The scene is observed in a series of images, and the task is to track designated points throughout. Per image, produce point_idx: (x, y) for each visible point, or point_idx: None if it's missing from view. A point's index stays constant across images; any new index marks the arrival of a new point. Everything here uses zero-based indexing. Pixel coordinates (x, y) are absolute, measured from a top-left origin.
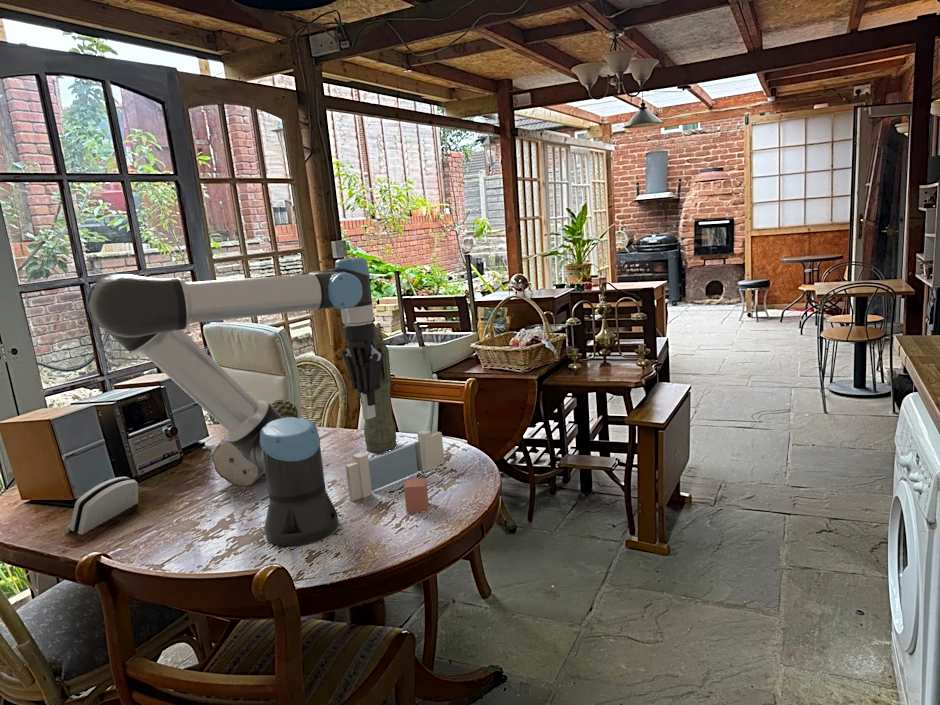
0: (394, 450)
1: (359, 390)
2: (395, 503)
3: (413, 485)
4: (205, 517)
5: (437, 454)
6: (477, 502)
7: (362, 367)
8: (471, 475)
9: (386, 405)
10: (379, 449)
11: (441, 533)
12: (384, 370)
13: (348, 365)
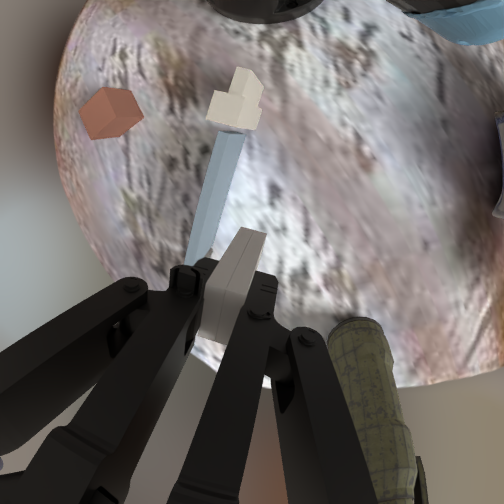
0: (202, 219)
1: (252, 309)
2: (167, 109)
3: (93, 102)
4: None
5: None
6: (69, 170)
7: (110, 437)
8: (123, 256)
9: None
10: (348, 324)
11: (68, 74)
12: None
13: (350, 496)
